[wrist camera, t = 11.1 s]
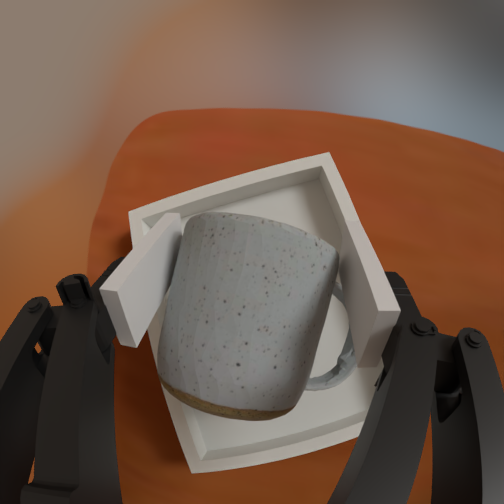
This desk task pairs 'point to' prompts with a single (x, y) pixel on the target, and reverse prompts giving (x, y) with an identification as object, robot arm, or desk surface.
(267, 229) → the ceramic mug
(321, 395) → the tray
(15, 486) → the robot arm
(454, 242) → the desk surface
